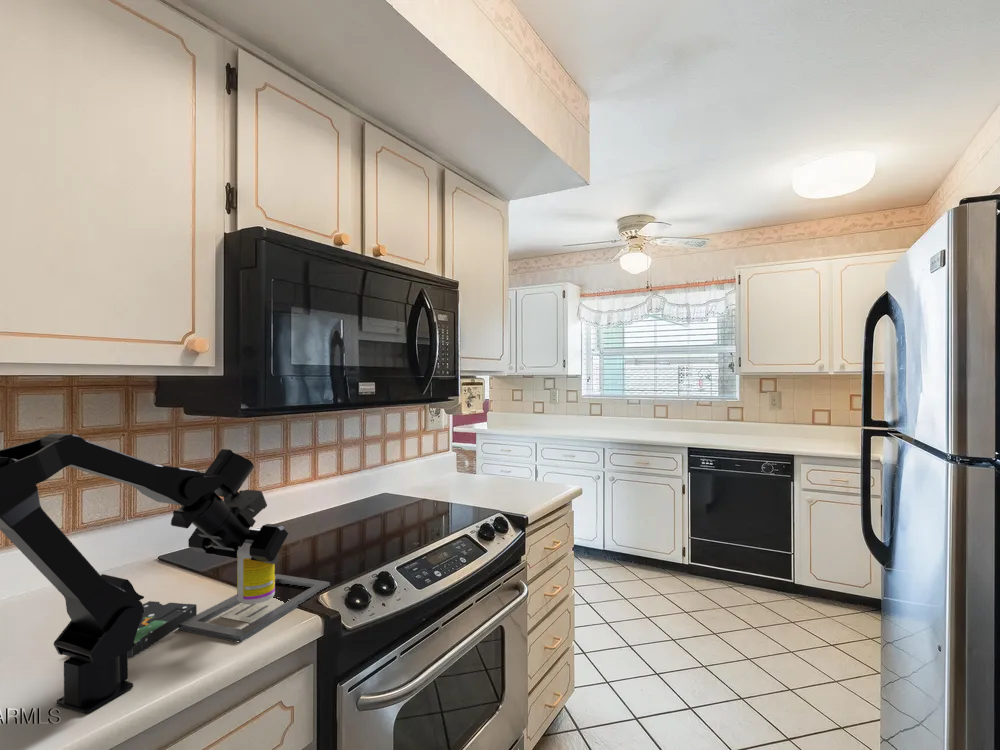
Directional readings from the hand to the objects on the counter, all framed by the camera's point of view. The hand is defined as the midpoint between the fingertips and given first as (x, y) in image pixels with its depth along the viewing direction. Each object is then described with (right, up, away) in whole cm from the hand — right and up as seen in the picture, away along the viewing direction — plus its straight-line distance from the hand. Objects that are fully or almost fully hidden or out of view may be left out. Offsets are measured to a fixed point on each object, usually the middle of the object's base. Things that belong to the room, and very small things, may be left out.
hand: (261, 559), depth 103 cm
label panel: (0, -9, 0) cm, 9 cm away
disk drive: (-16, -10, -10) cm, 22 cm away
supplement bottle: (0, -7, -1) cm, 7 cm away
